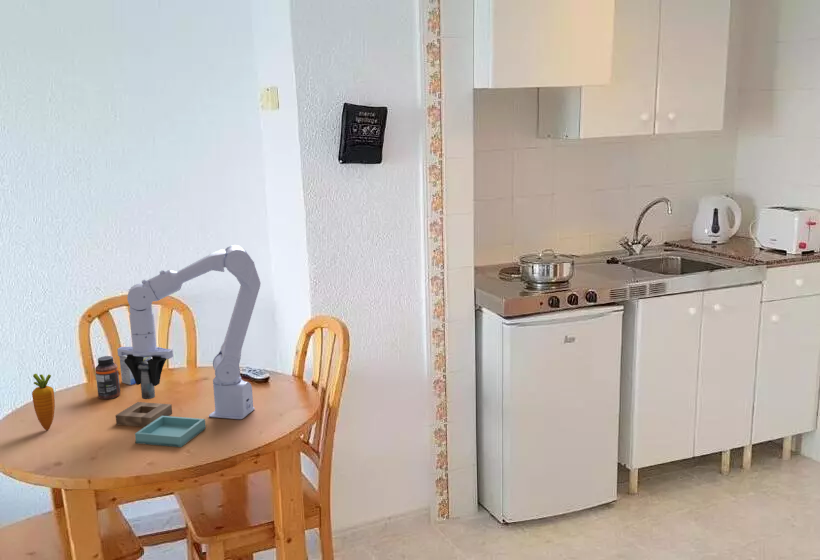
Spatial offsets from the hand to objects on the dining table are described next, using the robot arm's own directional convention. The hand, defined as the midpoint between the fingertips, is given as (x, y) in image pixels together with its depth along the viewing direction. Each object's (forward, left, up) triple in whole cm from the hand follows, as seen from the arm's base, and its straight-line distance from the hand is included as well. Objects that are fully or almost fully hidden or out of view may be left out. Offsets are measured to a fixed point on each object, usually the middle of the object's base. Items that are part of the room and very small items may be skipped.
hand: (147, 384), depth 203 cm
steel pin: (0, 0, -4) cm, 4 cm away
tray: (-10, +7, -10) cm, 16 cm away
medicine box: (+23, -30, -11) cm, 40 cm away
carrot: (+23, +10, -11) cm, 27 cm away
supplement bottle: (+23, -16, -11) cm, 30 cm away
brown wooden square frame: (+3, -2, -10) cm, 11 cm away
